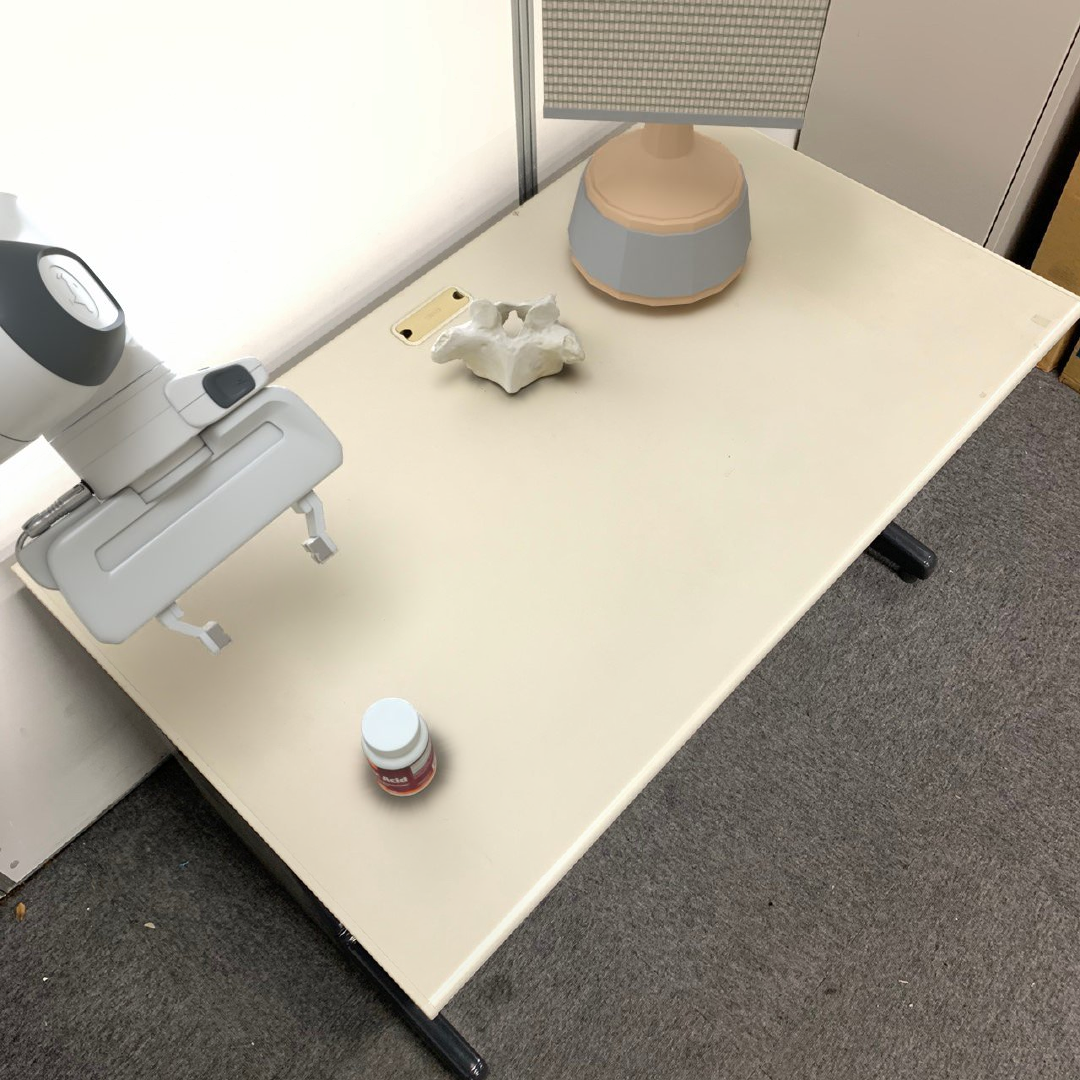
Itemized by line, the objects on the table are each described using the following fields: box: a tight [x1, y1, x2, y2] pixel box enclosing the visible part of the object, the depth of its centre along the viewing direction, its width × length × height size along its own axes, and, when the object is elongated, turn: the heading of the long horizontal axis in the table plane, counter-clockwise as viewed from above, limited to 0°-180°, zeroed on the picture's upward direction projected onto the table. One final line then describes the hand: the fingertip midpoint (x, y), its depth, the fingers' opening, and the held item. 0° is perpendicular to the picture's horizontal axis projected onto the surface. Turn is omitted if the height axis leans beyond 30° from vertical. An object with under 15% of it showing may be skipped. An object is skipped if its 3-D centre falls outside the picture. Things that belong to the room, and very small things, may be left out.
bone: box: [430, 292, 586, 394], centre depth 94 cm, size 9×14×8 cm, turn 104°
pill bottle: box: [360, 696, 437, 797], centre depth 72 cm, size 5×5×8 cm
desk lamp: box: [541, 0, 830, 307], centre depth 91 cm, size 22×19×37 cm
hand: (276, 601), depth 68 cm, fingers open, 8 cm apart
